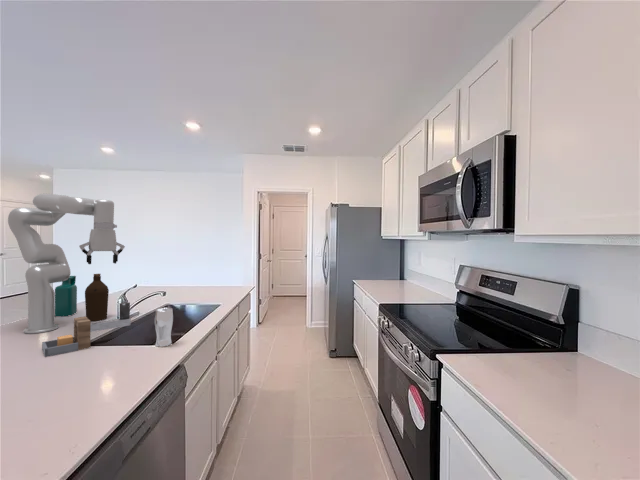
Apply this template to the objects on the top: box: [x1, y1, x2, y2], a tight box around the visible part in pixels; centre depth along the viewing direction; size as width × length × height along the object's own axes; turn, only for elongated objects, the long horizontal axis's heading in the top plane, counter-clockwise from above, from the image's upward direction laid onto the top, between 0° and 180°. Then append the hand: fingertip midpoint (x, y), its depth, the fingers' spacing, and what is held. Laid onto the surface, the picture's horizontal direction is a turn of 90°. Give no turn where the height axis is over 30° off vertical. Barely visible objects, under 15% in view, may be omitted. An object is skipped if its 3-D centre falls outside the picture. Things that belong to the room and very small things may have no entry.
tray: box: [41, 336, 79, 358], centre depth 123 cm, size 11×10×3 cm
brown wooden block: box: [73, 315, 92, 351], centre depth 128 cm, size 10×4×11 cm, turn 47°
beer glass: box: [154, 307, 174, 347], centre depth 131 cm, size 7×7×15 cm
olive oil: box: [84, 273, 110, 322], centre depth 169 cm, size 11×11×25 cm
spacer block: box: [56, 334, 74, 346], centre depth 124 cm, size 4×4×4 cm
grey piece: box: [90, 301, 132, 333], centre depth 134 cm, size 4×19×10 cm, turn 137°
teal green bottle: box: [54, 275, 78, 317], centre depth 178 cm, size 10×8×22 cm
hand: (102, 263), depth 142 cm, fingers open, 9 cm apart
